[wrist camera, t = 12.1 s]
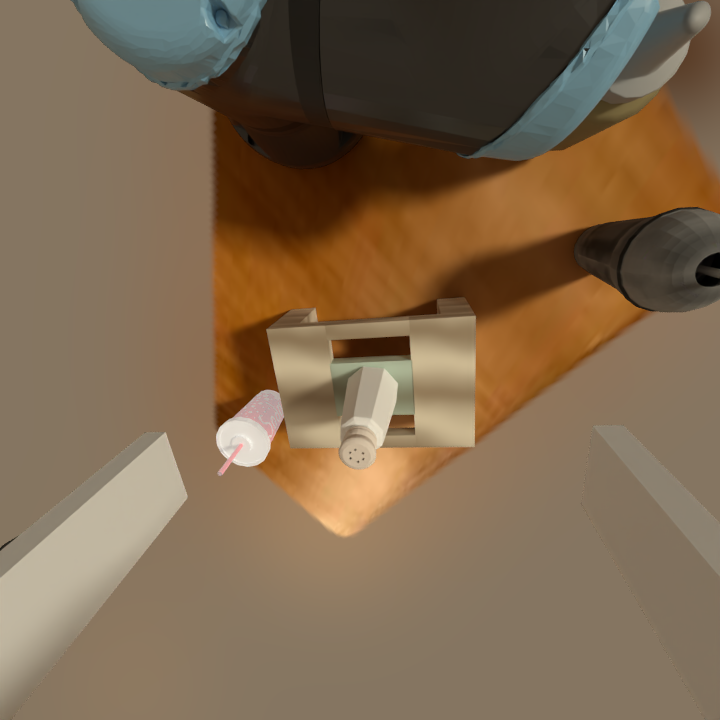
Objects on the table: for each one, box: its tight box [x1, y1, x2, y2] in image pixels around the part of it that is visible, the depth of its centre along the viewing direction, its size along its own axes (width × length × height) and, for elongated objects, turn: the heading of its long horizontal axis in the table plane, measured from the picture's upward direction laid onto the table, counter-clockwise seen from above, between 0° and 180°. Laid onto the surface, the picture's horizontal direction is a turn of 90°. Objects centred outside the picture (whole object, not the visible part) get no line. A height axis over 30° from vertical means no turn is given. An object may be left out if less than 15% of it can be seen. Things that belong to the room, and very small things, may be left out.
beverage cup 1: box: [216, 390, 284, 476], centre depth 42 cm, size 6×6×14 cm
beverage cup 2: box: [574, 207, 720, 312], centre depth 27 cm, size 7×7×20 cm
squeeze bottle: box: [549, 0, 711, 151], centre depth 25 cm, size 8×8×18 cm
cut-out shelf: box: [266, 297, 476, 448], centre depth 41 cm, size 14×20×8 cm
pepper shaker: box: [339, 366, 398, 469], centre depth 32 cm, size 5×5×11 cm
